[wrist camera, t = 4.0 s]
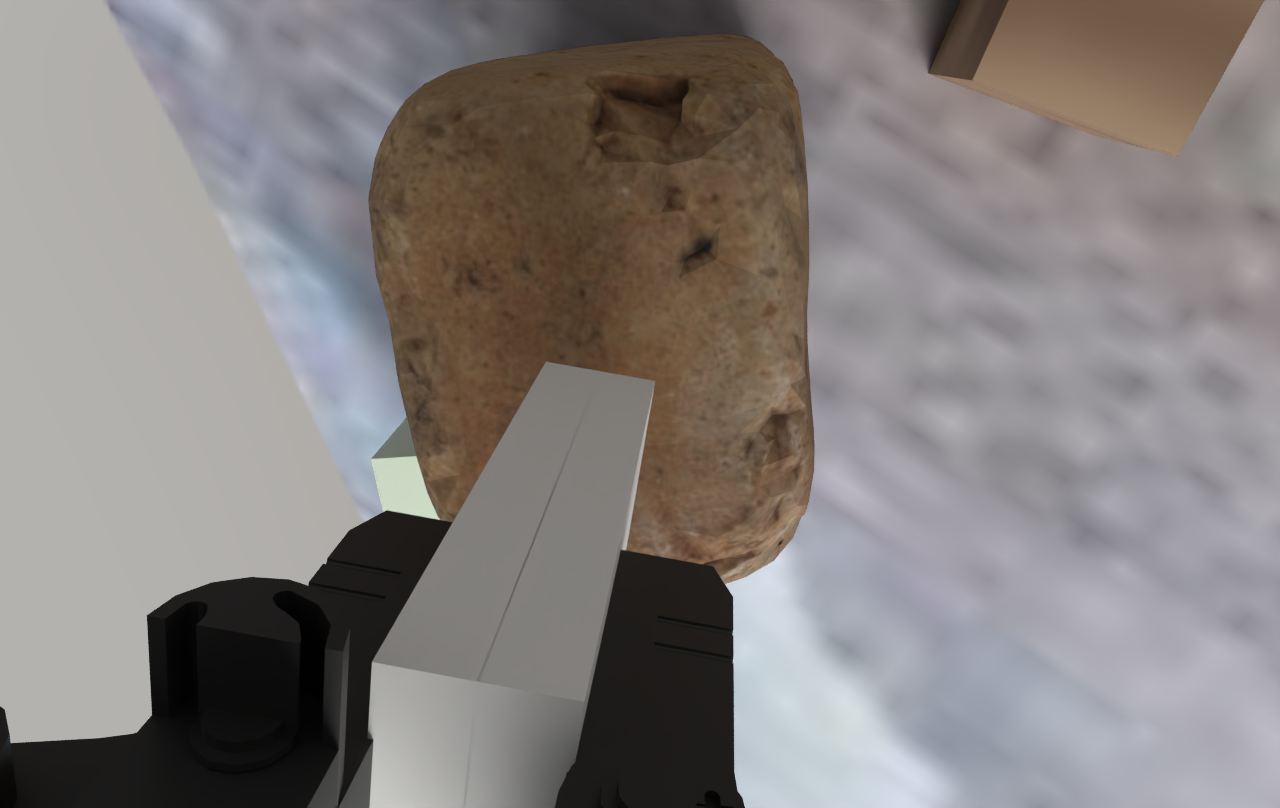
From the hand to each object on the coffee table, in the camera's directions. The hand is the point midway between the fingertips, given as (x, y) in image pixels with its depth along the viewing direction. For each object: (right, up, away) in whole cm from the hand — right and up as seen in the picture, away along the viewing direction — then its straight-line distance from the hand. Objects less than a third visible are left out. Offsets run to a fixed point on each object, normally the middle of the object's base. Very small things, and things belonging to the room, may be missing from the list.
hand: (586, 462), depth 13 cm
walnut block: (+14, +13, +17) cm, 26 cm away
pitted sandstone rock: (+2, +8, +20) cm, 22 cm away
